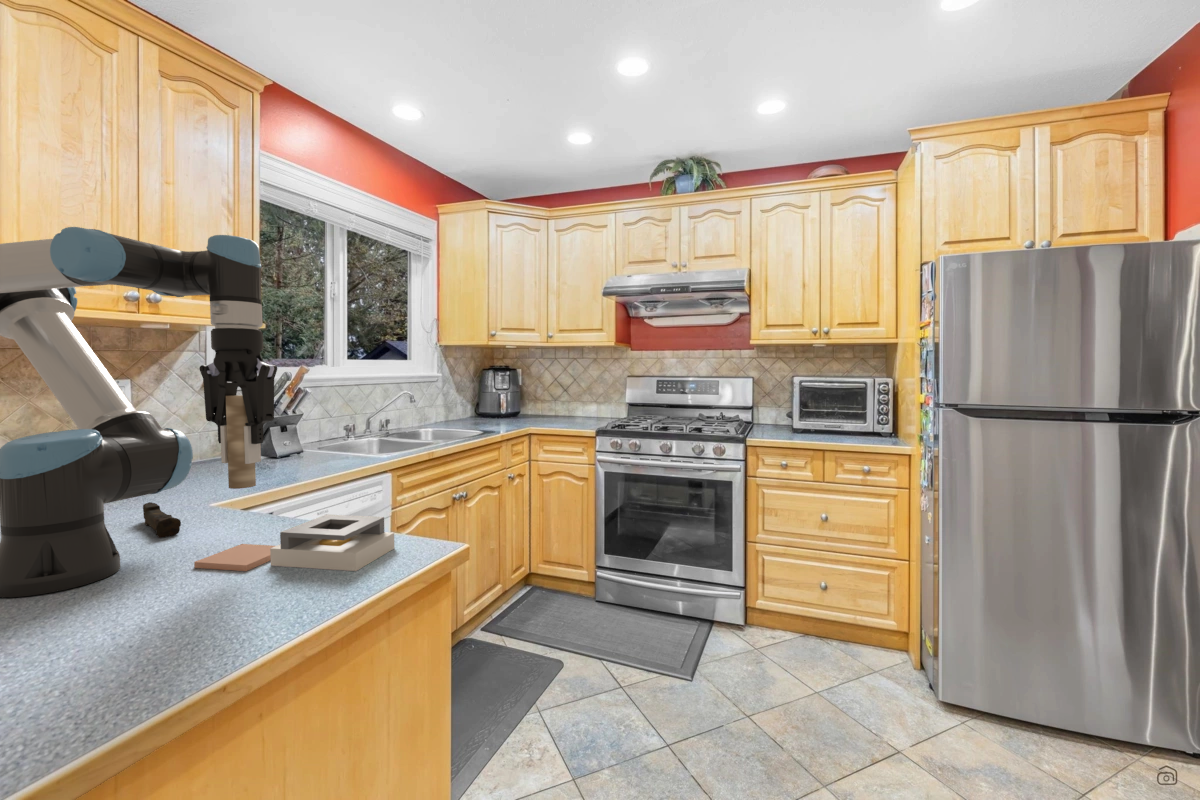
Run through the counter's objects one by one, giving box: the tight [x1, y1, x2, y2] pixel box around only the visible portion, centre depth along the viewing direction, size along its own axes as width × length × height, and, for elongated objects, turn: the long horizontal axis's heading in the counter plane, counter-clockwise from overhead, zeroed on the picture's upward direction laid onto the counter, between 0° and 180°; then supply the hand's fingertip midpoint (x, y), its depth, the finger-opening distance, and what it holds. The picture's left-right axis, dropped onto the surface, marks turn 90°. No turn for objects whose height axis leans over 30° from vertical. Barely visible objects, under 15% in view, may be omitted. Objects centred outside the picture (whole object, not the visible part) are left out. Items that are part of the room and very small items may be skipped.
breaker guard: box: [270, 513, 395, 572], centre depth 98 cm, size 16×12×6 cm
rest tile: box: [193, 543, 276, 572], centre depth 96 cm, size 10×10×1 cm
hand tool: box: [142, 501, 182, 539], centre depth 116 cm, size 19×4×5 cm, turn 48°
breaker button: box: [320, 538, 350, 546], centre depth 98 cm, size 5×5×3 cm
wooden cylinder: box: [226, 394, 257, 490], centre depth 95 cm, size 4×4×16 cm
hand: (241, 461), depth 95 cm, fingers closed on wooden cylinder, 4 cm apart
